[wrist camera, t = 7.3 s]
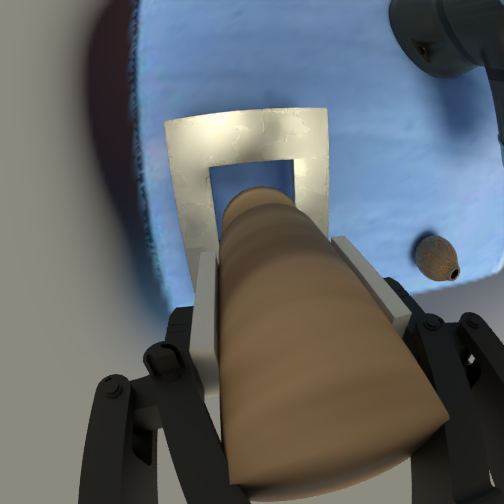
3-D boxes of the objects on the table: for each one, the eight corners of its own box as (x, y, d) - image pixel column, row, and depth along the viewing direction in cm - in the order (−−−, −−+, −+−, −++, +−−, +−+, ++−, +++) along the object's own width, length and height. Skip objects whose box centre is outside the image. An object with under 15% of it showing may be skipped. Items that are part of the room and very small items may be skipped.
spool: (214, 188, 18) (195, 463, 3) (299, 180, 19) (488, 375, 4) (224, 264, 21) (240, 507, 6) (301, 255, 21) (401, 467, 6)
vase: (403, 264, 40) (432, 293, 33) (417, 226, 37) (451, 251, 30) (429, 267, 42) (457, 294, 34) (443, 232, 39) (475, 256, 31)
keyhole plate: (180, 121, 28) (163, 121, 20) (300, 110, 29) (327, 108, 21) (208, 295, 39) (206, 338, 31) (303, 283, 40) (321, 323, 32)
